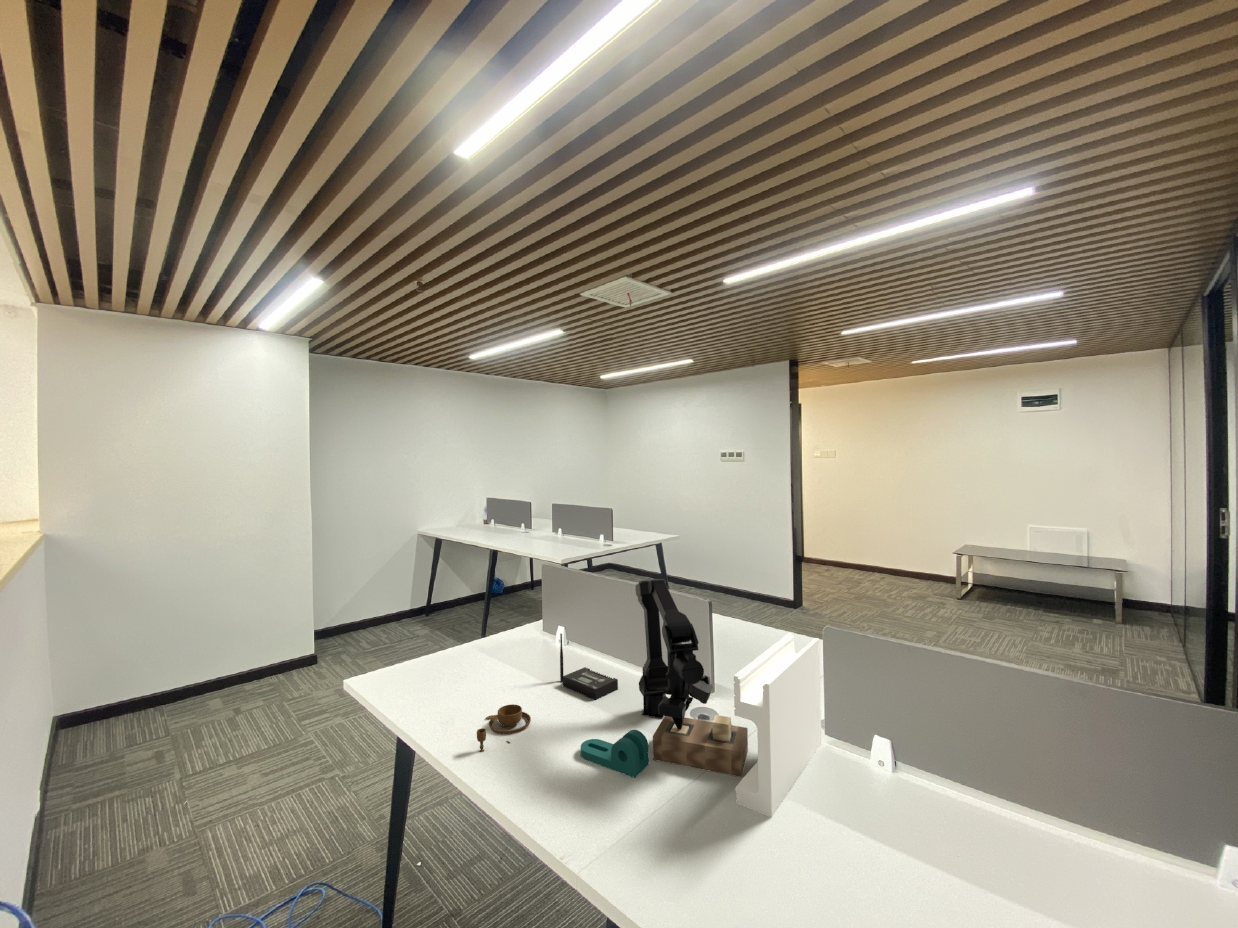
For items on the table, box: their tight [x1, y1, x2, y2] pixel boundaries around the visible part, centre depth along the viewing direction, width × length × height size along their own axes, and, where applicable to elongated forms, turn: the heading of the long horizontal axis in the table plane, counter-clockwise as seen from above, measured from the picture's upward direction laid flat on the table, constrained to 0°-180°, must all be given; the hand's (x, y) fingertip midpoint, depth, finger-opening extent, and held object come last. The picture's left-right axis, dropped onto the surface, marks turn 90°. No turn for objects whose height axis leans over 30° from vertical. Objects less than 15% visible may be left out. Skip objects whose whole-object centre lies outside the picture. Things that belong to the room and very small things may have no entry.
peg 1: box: [670, 724, 689, 734], centre depth 133 cm, size 4×4×6 cm
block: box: [733, 632, 822, 818], centre depth 124 cm, size 35×8×28 cm, turn 142°
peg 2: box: [711, 714, 732, 742], centre depth 129 cm, size 4×4×6 cm
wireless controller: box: [559, 632, 619, 701], centre depth 174 cm, size 20×14×17 cm
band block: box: [652, 716, 749, 778], centre depth 131 cm, size 22×12×6 cm, turn 69°
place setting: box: [476, 703, 532, 753], centre depth 146 cm, size 18×20×6 cm
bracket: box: [580, 729, 650, 779], centre depth 130 cm, size 18×7×8 cm, turn 57°
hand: (679, 728), depth 133 cm, fingers closed
